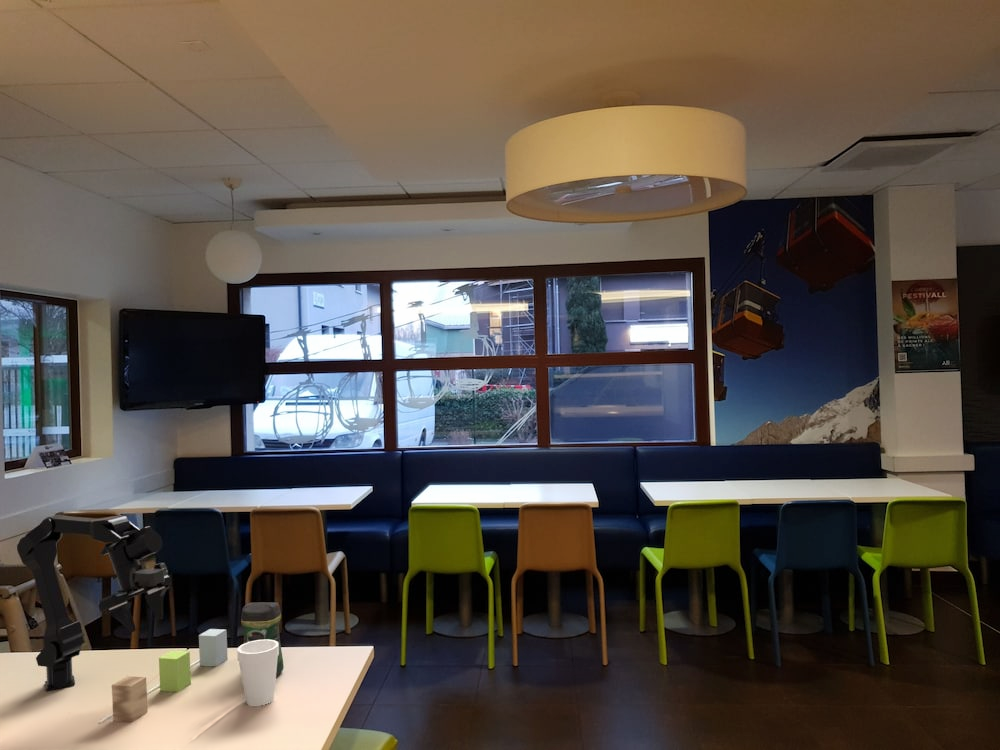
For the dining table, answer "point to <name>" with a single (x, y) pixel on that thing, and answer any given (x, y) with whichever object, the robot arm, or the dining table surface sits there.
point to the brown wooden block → (129, 698)
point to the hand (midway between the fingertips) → (147, 625)
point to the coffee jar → (263, 625)
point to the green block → (174, 671)
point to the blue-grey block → (213, 647)
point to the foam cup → (258, 670)
